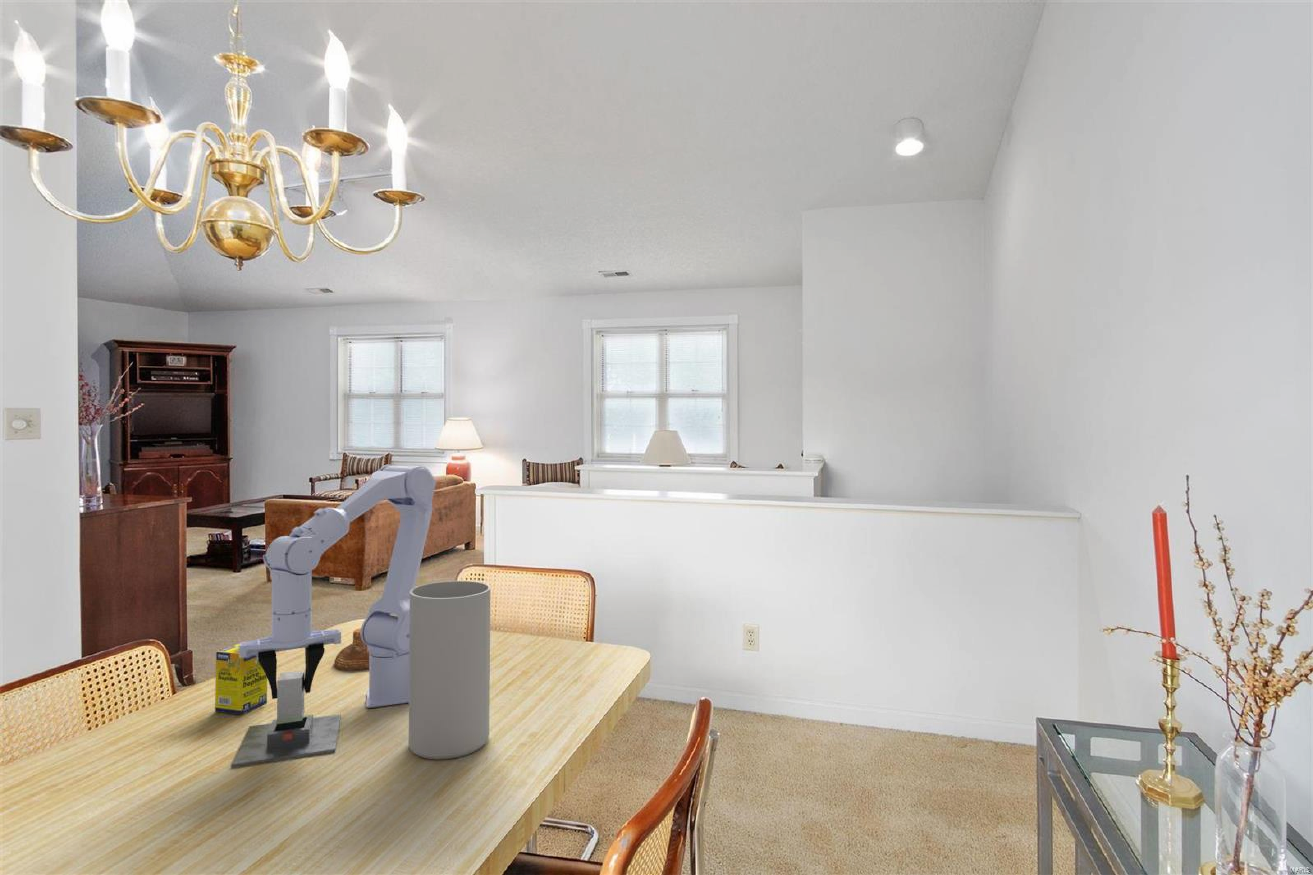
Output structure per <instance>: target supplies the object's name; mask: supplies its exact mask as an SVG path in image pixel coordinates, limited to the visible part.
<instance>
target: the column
mask: <svg viewBox="0 0 1313 875" xmlns="http://www.w3.org/2000/svg"><path fill="white" fill-rule="evenodd" d="M304 681H305V670H299V671H290V672H289V671H288V672H283V673H282V672H281V673H280V674H279V676H278V677H277V679H276V682H277V698H276V708H277V709H276V719H277V724H281V723H288V722H296V721H302V719H303V716H305V711H306V710H305V689H304Z"/></svg>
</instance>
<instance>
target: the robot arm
mask: <svg viewBox="0 0 1313 875" xmlns="http://www.w3.org/2000/svg"><path fill="white" fill-rule="evenodd" d="M370 475H371V476H370V478H369V479H368V480H367V481H366V482H365V483H364V484H363V485H361V487H359V488H358V489H357V490H356V491H355V492H353V493H352V494H351V495H349V497H347V498H346V499H345V500H344V501H343V502H341V503H340V504H339V505H338V506H337V507H336V508H335V507H328V506H327V507H325V508H318V509H317V510H315V511H314V512H313V513H314V515H313V516H312V517H311V518H310V519H308V520H307V521H305V522H304V523H303V524H301V525H300V526H295V527H294V528H292V529H291V533H290V534H289V536H288V535H283V536H279V537H277V538H275V539H274V540H272V541H271V543H270V544H269V546H268V547H267V549H266V553H265V554H263V555H262V560H263V563H264V565H265V566H266V567H267V568H268V570H269V573H270V575H269V576H270V580H271V627H270V628H271V629H270V630H271V636H268V637H262V638H258V639H254V640H248V641H242V642H239V643H238V644H239V658H245V657H247V656H250V655H257V654H258V660H259V663H260V665H261V667H262V668H263V670H264V672H265V674H266V676H267V682H268V683H269V686H270V690H271V699H272V700H277V669H278V668H277V664H278V661H277V660H278V659H277V652H283V651H284V652H285V651H292V650H296V649H304V653H305V654H304V655H305V656H304V657H305V658H304V659H305V661H304V663H305V669H304V671H305V681H304V694H309V693H311V689H312V683H313V680H314V677H315V674H316V671H317V669H318V666H319V664H320V662H321V660H322V658H323V656H324V654H325V645H331V644H334V645H339V644H340V645H341V644H342V631H341V630H340V628H339V629H329V630H312V579H313V578H312V575H313V574H312V572H313V570H314V569H316V568H317V567H318V565H319V563H320V560H321V557H322V556H323V554H324V553H325V552H326V551H327V550H328V549H330V547H332V546H333V545H335V544H336V543H337V542H338V541H340V540H341V539H342V538H343V537H345V536H346V535H347V534H348V532H349V531H350V525H351V523H352V522H353V521H354V520H356V519H357V518H359V517H361V516H362V515H363V514H364V513H366V512H368V511H369V510H370V509H372V508H373V507H374V506H376V505H377V504H380V503H381V502H382V501H383V500H386V501H387V502H389V503H390V504H391V505H392V506H393V507H394V508H395V509H396V510H397V511H398V513H399V514H400V517H401V518H400V520H399V521H400V522H399V525H398V528H397V534H396V538H395V541H394V546H393V550H392V554H391V558H390V563H389V565H388V566H389V567H388V570H387V575H386V579H385V584H384V587H383V592H382V595H381V597H380V598H379V599H378V600H376V601H375V602H374V603H372V604H371V605H370V607H369V611H368V614H367V616H366V617H365V619H364V621H363V623H362V625H361V627H360V628H361V632H360V635H361V639H362V641H363V643H364V644H366V645H367V651H369V653H370V654H369V669H368V670H369V671H368V672H369V673H368V674H369V675H368V676H369V679H368V690H367V691H366V703H365V704H366V705H365V707H366V708H368V709H370V708H376V707H377V708H378V707H384V706H393V705H400V704H409V629H410V590H411V589H413V588H415V587H416V585H417V580H418V576H419V571H420V568H421V563H422V559H423V553H424V551H425V550H424V549H425V544H426V542H427V537H428V532H429V528H430V523H431V519H432V515H433V498H434V493H435V489H436V484H437V481H436V479H435V478H434V476H433V474H432V472H431V471H430V470H429V468H427V467H426V466H422V465H416V466H413V465H412V466H411V465H393V464H385V465H383V466H381V467H380V468H379V469H378V470H376V471H374V472H372V473H371V474H370ZM392 614H393V615H392ZM395 615H396V616H395Z"/></svg>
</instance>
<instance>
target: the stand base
mask: <svg viewBox="0 0 1313 875" xmlns="http://www.w3.org/2000/svg"><path fill="white" fill-rule="evenodd" d="M341 719H342V714H341V713H340V714H331V715H326V716H318V717H317V716H316V717H314V714H308V715H307V714H306V715H304V716H303V719H302V721H296V722H288V723H281V724H277V718H275V719H272V722H270V723H264V724H258V725H257V724H256V725H250V726H248V728H247V731H246V732H245V735H244V737H243V739H242V741H241V743H240V745H239V748H238V750H237V751H236V754H235V756H234V759H233V760H232V763H231V768H240V767H245V766H252V765H258V764H264V763H265V764H266V763H272V762H279V761H284V760H292V759H299V758H306V757H311V756H319V755H326V754H333V753H336V749H337V744H338V737H339V733H340V732H339V731H340V725H341Z"/></svg>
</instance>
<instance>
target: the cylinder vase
mask: <svg viewBox="0 0 1313 875" xmlns="http://www.w3.org/2000/svg"><path fill="white" fill-rule="evenodd" d="M491 590H492V589H491V586H490V585H489V584H488V583H484V582H481V581H473V580H446V581H437V582H430V583H425V584H422V585H418V586H415V588H413V589H411V590H410V629H409V703H408V748H409V750H410V751H411V752H412V753H413V754H414V755H416V756H418V757H421V758H423V759H424V758H425V759H429V760H450V759H451V760H452V759H456V758H460V757H465V756H466V755H469V754H472V753H474V752H476V751H478V750H479V749H481V748H482V747H483V746H484V745H485V744H486V743H487V741H488V740H489V737H490V704H491V703H490V700H491V699H490V698H491V697H490V694H491V693H490V692H491V690H490V688H491V687H490V684H491V683H490V682H491V677H490V676H491V672H490V671H491Z"/></svg>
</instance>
